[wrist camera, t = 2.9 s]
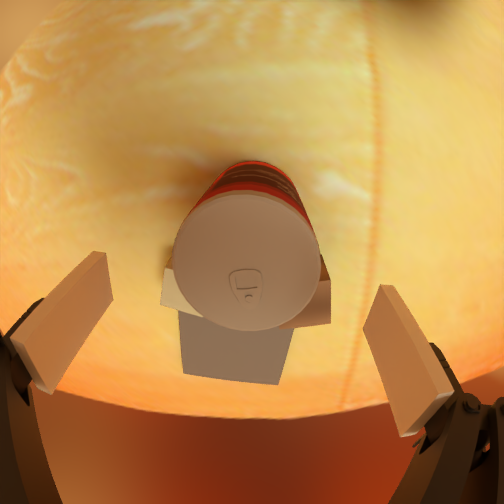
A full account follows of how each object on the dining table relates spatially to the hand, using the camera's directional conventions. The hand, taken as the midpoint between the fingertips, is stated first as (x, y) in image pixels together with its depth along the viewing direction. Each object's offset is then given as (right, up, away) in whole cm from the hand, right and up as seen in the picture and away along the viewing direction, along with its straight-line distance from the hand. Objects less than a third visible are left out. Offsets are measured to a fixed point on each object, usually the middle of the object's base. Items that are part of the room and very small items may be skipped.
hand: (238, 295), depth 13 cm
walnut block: (+5, -1, +14) cm, 15 cm away
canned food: (+1, +6, +11) cm, 13 cm away
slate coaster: (-1, -8, +18) cm, 20 cm away
